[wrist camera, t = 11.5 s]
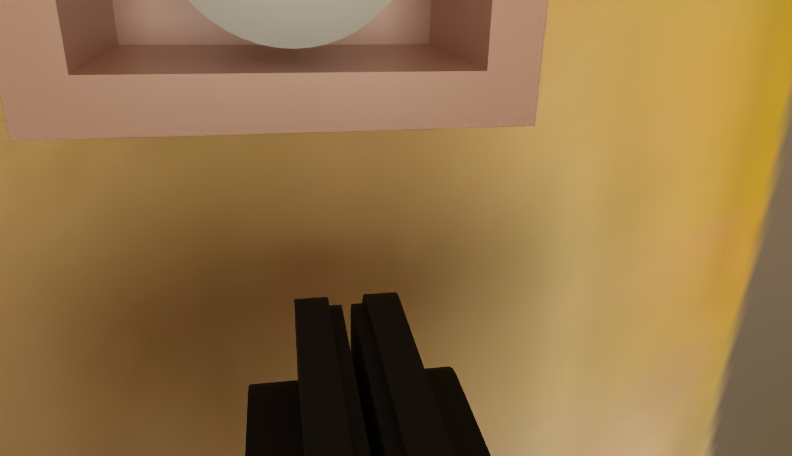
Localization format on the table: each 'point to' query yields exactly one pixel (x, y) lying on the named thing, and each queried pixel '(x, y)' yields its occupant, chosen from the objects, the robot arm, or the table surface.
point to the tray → (266, 66)
